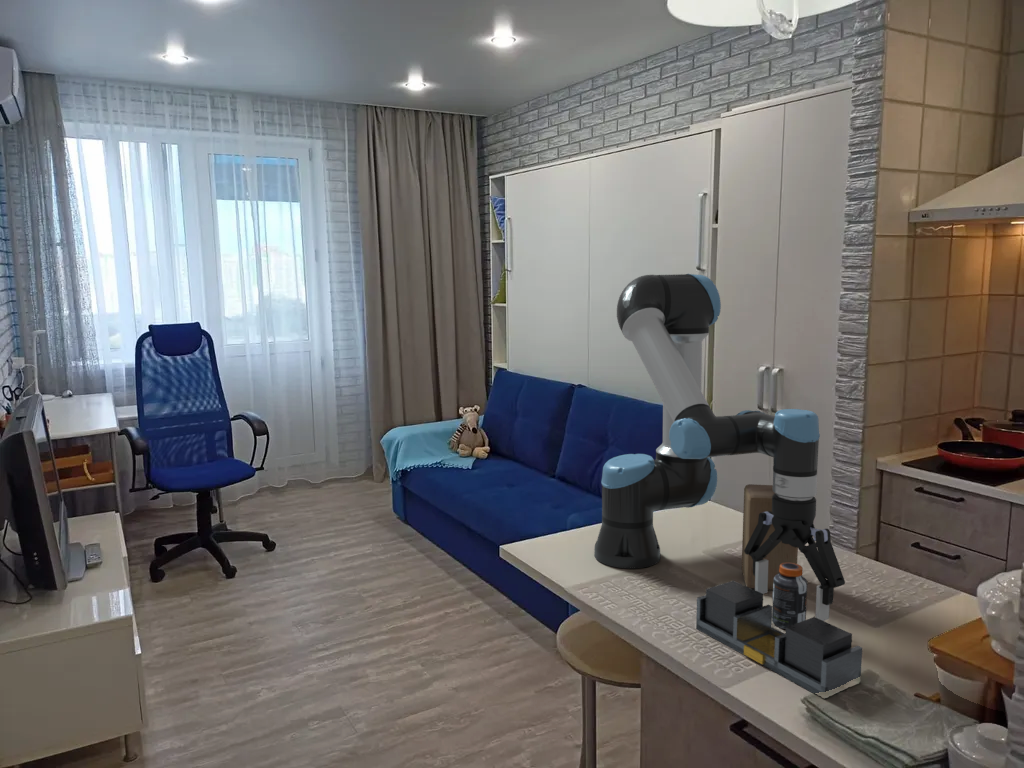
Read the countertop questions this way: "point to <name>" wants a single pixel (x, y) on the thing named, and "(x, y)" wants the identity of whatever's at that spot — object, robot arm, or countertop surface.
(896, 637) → the countertop surface
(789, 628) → the rack
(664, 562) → the countertop surface
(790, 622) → the pill bottle
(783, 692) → the countertop surface
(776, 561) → the block
